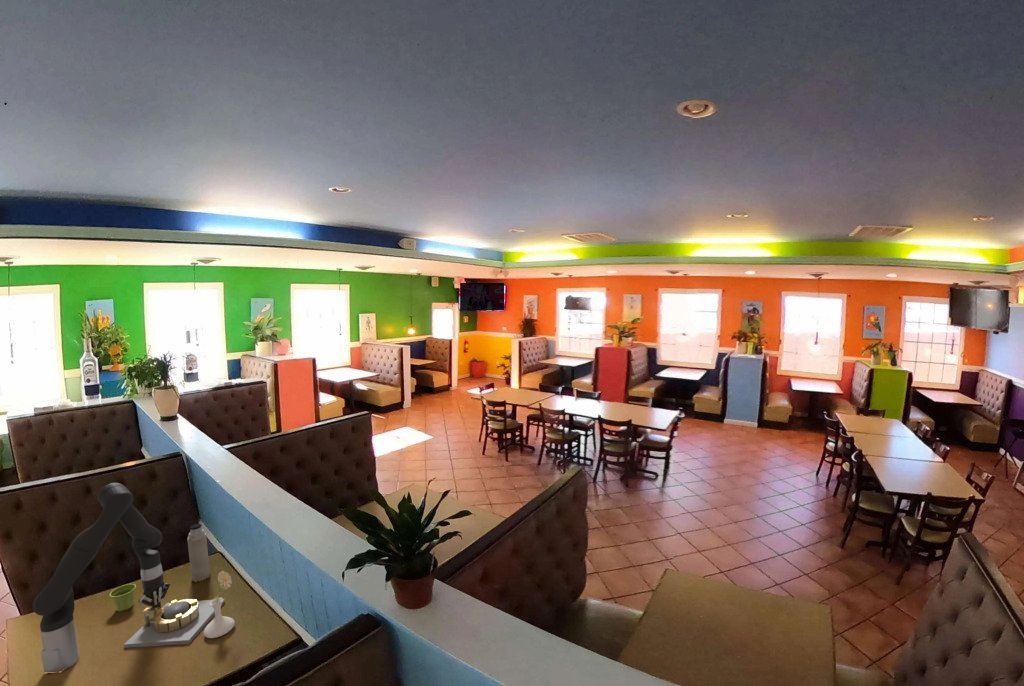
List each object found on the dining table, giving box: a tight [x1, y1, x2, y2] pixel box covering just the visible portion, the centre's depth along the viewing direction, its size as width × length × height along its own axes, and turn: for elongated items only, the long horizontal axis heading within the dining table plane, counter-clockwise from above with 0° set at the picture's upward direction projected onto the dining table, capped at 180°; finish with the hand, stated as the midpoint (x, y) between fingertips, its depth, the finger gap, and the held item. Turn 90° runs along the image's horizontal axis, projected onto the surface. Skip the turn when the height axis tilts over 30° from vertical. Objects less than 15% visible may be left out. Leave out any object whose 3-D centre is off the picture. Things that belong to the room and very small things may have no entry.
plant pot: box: [109, 583, 137, 612], centre depth 215 cm, size 9×9×9 cm
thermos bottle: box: [187, 523, 211, 583], centre depth 236 cm, size 8×8×28 cm
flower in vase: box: [203, 570, 236, 639], centre depth 197 cm, size 13×11×25 cm
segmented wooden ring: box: [142, 598, 199, 632], centre depth 203 cm, size 22×16×5 cm
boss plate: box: [123, 598, 226, 649], centre depth 203 cm, size 26×26×8 cm
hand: (157, 610), depth 207 cm, fingers closed
